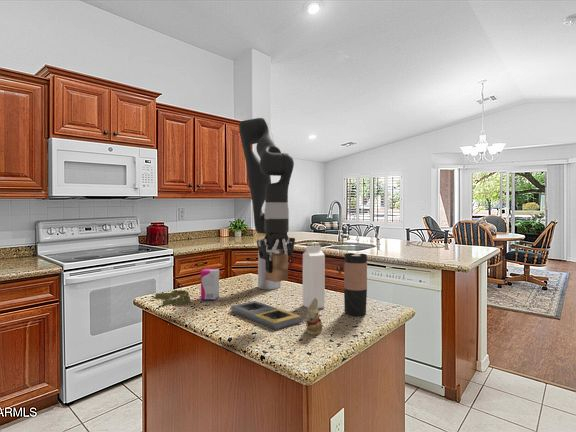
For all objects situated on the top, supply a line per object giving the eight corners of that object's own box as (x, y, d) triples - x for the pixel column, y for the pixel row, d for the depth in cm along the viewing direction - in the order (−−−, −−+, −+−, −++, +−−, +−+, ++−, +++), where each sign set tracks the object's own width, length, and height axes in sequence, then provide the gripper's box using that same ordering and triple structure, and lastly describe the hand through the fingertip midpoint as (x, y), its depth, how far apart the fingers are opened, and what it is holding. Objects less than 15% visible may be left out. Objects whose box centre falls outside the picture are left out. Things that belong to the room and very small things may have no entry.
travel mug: (353, 317, 115) (353, 256, 114) (339, 311, 121) (339, 253, 121) (371, 314, 118) (372, 255, 118) (357, 308, 125) (357, 252, 124)
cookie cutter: (153, 297, 141) (153, 292, 141) (183, 293, 148) (183, 288, 148) (164, 308, 126) (164, 303, 126) (197, 303, 132) (197, 298, 132)
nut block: (277, 277, 114) (277, 252, 114) (287, 279, 110) (287, 254, 110) (265, 279, 110) (265, 254, 110) (275, 282, 107) (275, 255, 106)
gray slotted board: (254, 306, 128) (254, 300, 128) (300, 322, 110) (300, 315, 110) (231, 311, 121) (231, 305, 121) (275, 330, 103) (275, 322, 103)
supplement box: (219, 297, 141) (219, 268, 140) (215, 301, 135) (215, 271, 135) (205, 296, 141) (205, 268, 141) (200, 300, 135) (200, 270, 135)
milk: (324, 307, 126) (325, 246, 126) (309, 309, 124) (310, 247, 123) (316, 303, 132) (317, 244, 131) (302, 305, 129) (302, 245, 129)
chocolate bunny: (298, 332, 101) (298, 298, 101) (314, 325, 107) (314, 293, 107) (313, 337, 98) (313, 301, 97) (329, 330, 103) (330, 296, 103)
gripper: (286, 216, 117) (285, 267, 118) (250, 217, 108) (250, 272, 108) (301, 217, 112) (301, 270, 112) (265, 218, 102) (265, 276, 103)
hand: (276, 271), depth 110 cm, fingers closed on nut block, 5 cm apart
